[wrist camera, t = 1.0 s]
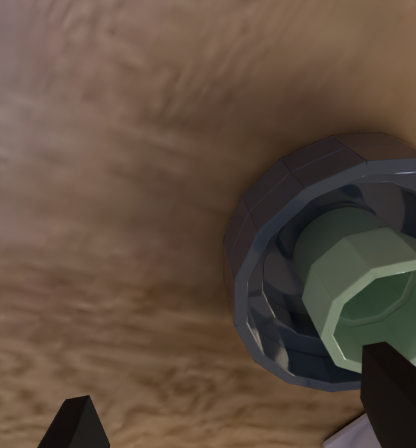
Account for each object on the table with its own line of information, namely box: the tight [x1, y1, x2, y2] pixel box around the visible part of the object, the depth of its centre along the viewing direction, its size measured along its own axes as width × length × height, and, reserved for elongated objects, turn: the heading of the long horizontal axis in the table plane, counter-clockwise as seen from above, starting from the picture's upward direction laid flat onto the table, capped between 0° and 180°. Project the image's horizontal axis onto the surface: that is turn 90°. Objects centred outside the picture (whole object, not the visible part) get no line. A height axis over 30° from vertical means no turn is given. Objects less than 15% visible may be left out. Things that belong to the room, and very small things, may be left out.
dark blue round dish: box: [223, 133, 416, 392], centre depth 19 cm, size 12×12×4 cm
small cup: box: [293, 207, 416, 373], centre depth 18 cm, size 6×6×6 cm
